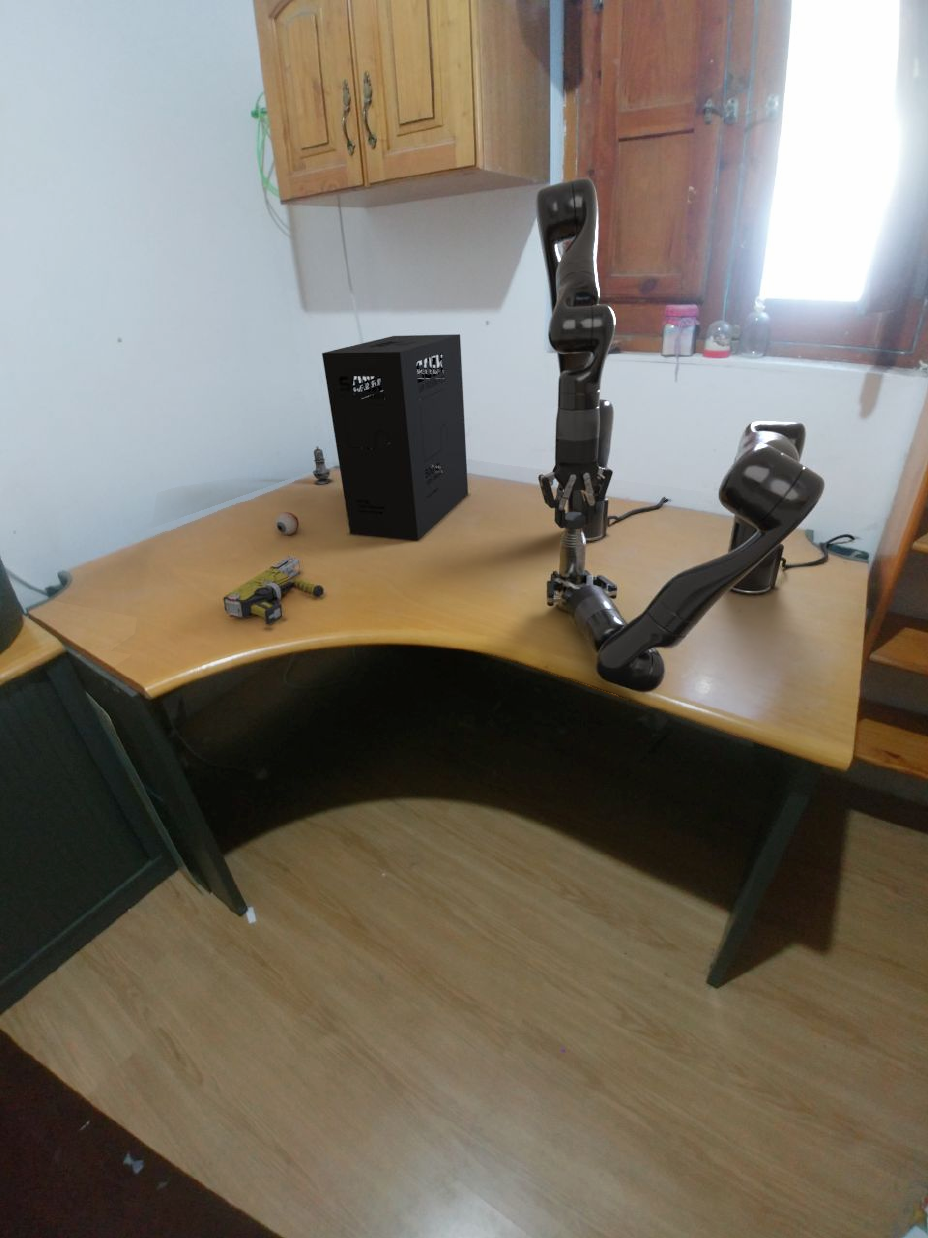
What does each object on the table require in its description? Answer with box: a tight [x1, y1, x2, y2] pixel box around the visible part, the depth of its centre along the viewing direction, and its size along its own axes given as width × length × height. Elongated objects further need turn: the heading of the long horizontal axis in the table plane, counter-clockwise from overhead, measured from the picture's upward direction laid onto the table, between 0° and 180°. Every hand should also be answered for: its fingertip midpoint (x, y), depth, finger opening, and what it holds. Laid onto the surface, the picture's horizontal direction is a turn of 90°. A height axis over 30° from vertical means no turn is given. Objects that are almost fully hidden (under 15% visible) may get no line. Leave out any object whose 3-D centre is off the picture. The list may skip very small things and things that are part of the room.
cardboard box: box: [321, 333, 469, 541], centre depth 164 cm, size 38×20×45 cm, turn 159°
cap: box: [564, 512, 586, 529], centre depth 113 cm, size 5×5×2 cm
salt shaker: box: [312, 446, 332, 485], centre depth 203 cm, size 6×6×12 cm
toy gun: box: [222, 556, 324, 626], centre depth 131 cm, size 5×24×15 cm
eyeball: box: [275, 511, 300, 536], centre depth 163 cm, size 6×6×6 cm
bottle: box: [557, 528, 587, 612], centre depth 118 cm, size 5×5×19 cm
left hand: (573, 524), depth 114 cm, fingers closed on cap, 4 cm apart
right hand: (567, 573), depth 122 cm, fingers closed on bottle, 5 cm apart
